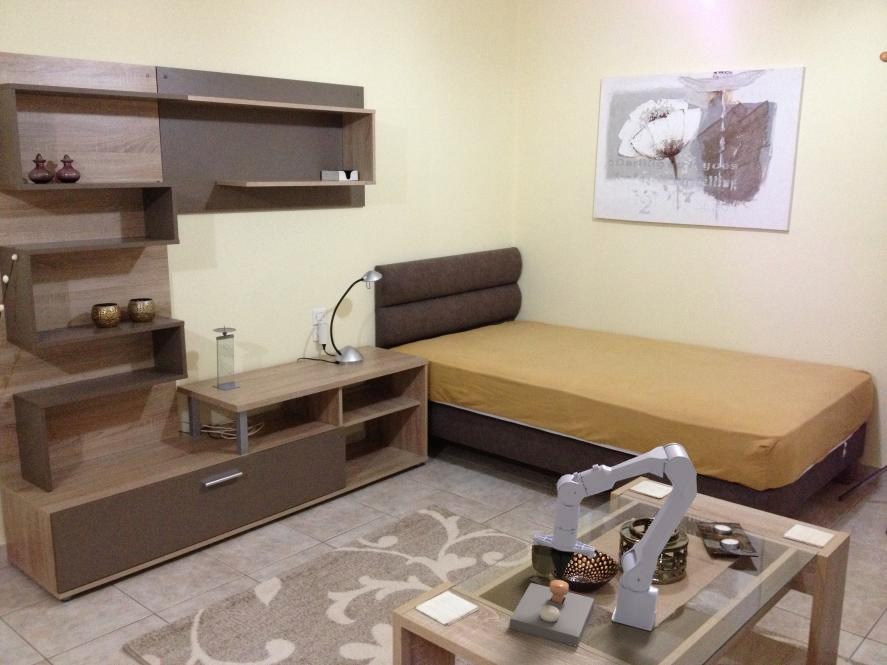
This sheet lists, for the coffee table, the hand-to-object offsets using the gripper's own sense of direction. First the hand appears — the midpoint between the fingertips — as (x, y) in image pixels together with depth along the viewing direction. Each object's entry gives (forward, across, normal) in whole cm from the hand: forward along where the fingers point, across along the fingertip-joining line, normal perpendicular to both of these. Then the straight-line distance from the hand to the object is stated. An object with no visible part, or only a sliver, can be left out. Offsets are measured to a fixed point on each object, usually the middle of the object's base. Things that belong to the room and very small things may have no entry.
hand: (560, 577), depth 197 cm
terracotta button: (+6, 0, 0) cm, 6 cm away
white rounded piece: (+8, 0, +9) cm, 12 cm away
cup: (+9, +7, -14) cm, 17 cm away
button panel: (+8, 0, +4) cm, 10 cm away
